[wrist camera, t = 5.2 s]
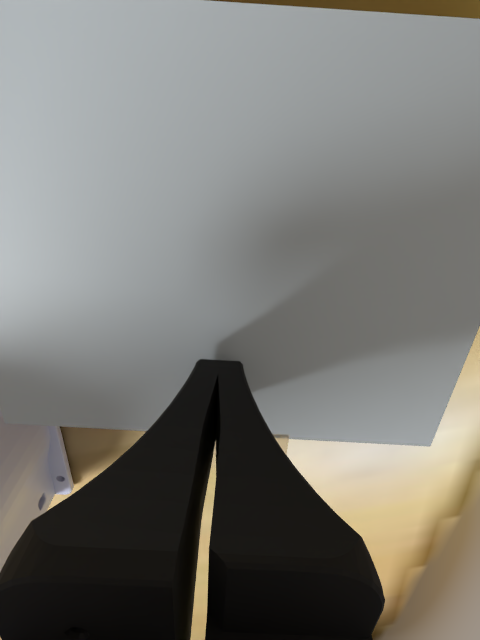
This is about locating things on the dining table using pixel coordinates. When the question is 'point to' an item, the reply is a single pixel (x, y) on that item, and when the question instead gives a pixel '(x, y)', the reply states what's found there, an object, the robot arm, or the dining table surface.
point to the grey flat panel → (237, 212)
